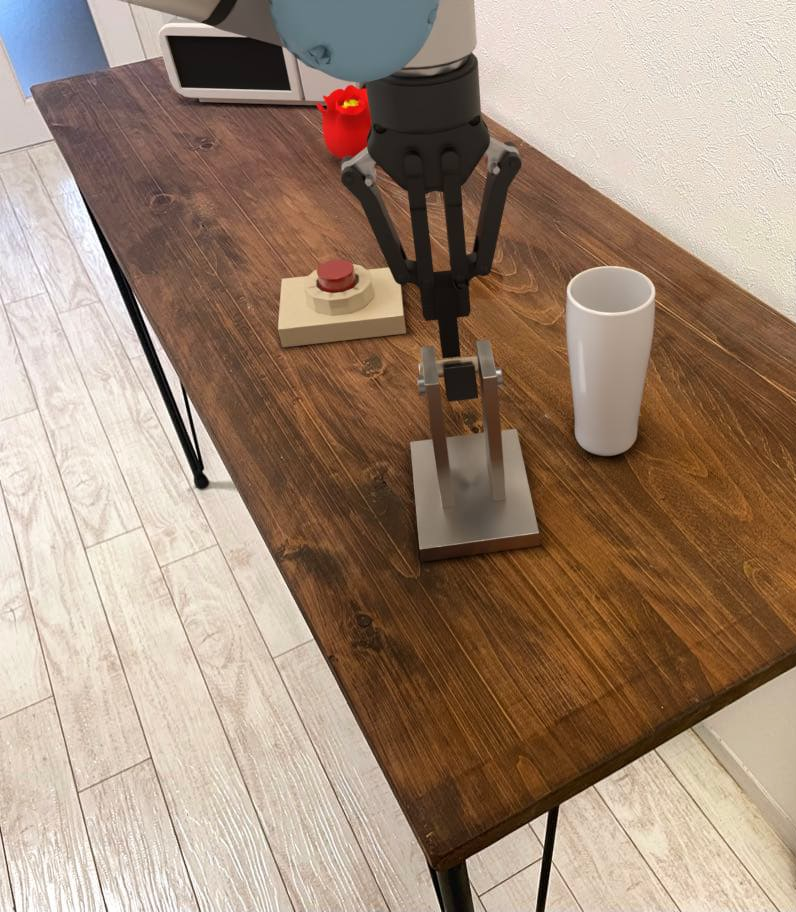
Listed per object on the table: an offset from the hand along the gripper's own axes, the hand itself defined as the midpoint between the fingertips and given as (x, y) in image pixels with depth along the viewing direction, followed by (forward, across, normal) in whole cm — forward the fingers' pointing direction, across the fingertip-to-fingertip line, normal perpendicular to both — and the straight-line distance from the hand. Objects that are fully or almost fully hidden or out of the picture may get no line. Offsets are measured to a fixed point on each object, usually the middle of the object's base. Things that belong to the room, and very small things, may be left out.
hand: (450, 347), depth 76 cm
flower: (+8, +8, -53) cm, 54 cm away
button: (+4, +10, -18) cm, 21 cm away
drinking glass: (+8, -12, +5) cm, 15 cm away
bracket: (+8, 0, +10) cm, 13 cm away
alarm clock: (+8, +19, -76) cm, 79 cm away
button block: (+8, +10, -18) cm, 22 cm away
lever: (0, 0, +6) cm, 6 cm away
